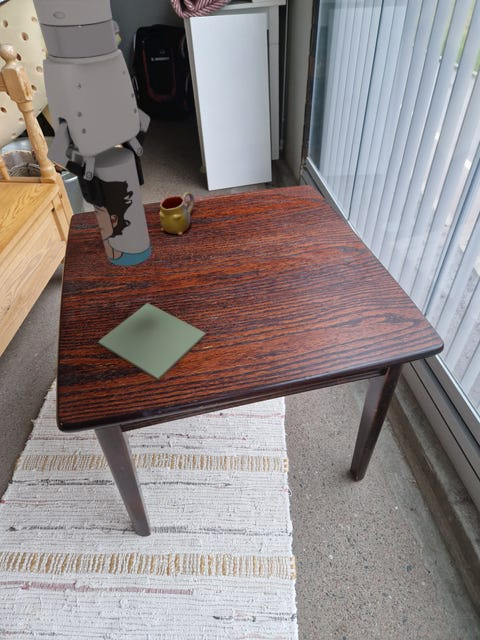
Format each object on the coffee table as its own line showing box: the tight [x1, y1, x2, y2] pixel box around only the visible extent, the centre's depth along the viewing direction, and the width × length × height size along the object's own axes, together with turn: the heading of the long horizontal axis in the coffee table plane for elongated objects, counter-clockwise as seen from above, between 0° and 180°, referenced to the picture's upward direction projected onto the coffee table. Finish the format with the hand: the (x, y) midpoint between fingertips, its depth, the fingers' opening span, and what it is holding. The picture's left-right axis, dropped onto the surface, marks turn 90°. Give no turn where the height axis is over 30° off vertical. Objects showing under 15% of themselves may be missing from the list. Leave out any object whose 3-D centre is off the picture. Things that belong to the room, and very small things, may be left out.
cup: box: [82, 146, 152, 267], centre depth 60 cm, size 7×7×15 cm
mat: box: [97, 302, 207, 381], centre depth 72 cm, size 12×14×1 cm
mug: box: [159, 191, 195, 236], centre depth 98 cm, size 12×7×7 cm, turn 152°
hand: (115, 192), depth 58 cm, fingers closed on cup, 6 cm apart
